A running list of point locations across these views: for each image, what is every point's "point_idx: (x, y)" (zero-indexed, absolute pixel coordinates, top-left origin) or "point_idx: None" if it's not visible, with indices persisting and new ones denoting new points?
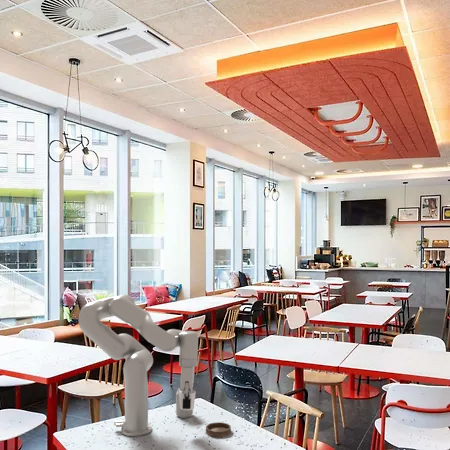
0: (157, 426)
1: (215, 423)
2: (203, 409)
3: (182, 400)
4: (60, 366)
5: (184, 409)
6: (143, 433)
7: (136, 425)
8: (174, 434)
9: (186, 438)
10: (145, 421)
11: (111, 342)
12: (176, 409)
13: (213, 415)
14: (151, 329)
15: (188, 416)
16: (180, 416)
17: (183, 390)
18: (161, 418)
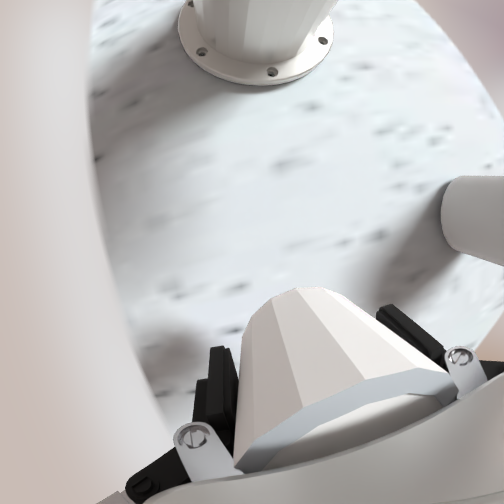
0: (332, 103)
1: None
2: (498, 274)
3: (247, 379)
4: None
5: (241, 345)
6: (198, 63)
7: (196, 13)
8: (238, 220)
9: (197, 296)
10: (238, 37)
11: None
12: (470, 179)
13: (454, 329)
14: None
15: (446, 238)
16: (442, 201)
17: (395, 418)
18: (423, 111)
